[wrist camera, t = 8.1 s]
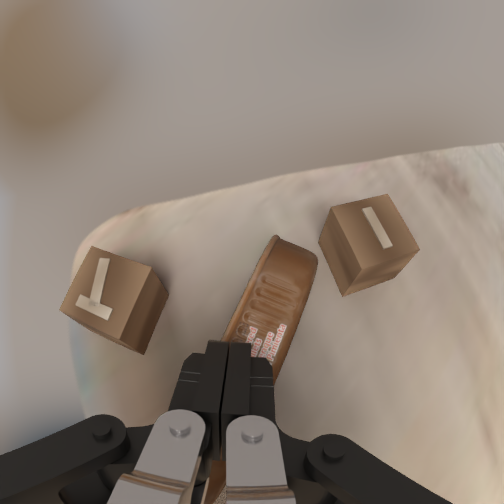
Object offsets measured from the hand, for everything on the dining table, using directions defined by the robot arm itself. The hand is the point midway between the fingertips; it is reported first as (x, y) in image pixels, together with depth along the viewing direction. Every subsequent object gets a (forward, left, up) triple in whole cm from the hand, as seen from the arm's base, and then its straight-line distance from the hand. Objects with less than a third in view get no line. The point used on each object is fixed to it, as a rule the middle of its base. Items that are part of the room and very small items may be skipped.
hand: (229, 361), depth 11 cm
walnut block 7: (+8, -4, -9) cm, 13 cm away
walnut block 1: (-8, -9, -9) cm, 15 cm away
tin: (0, 0, -9) cm, 9 cm away
